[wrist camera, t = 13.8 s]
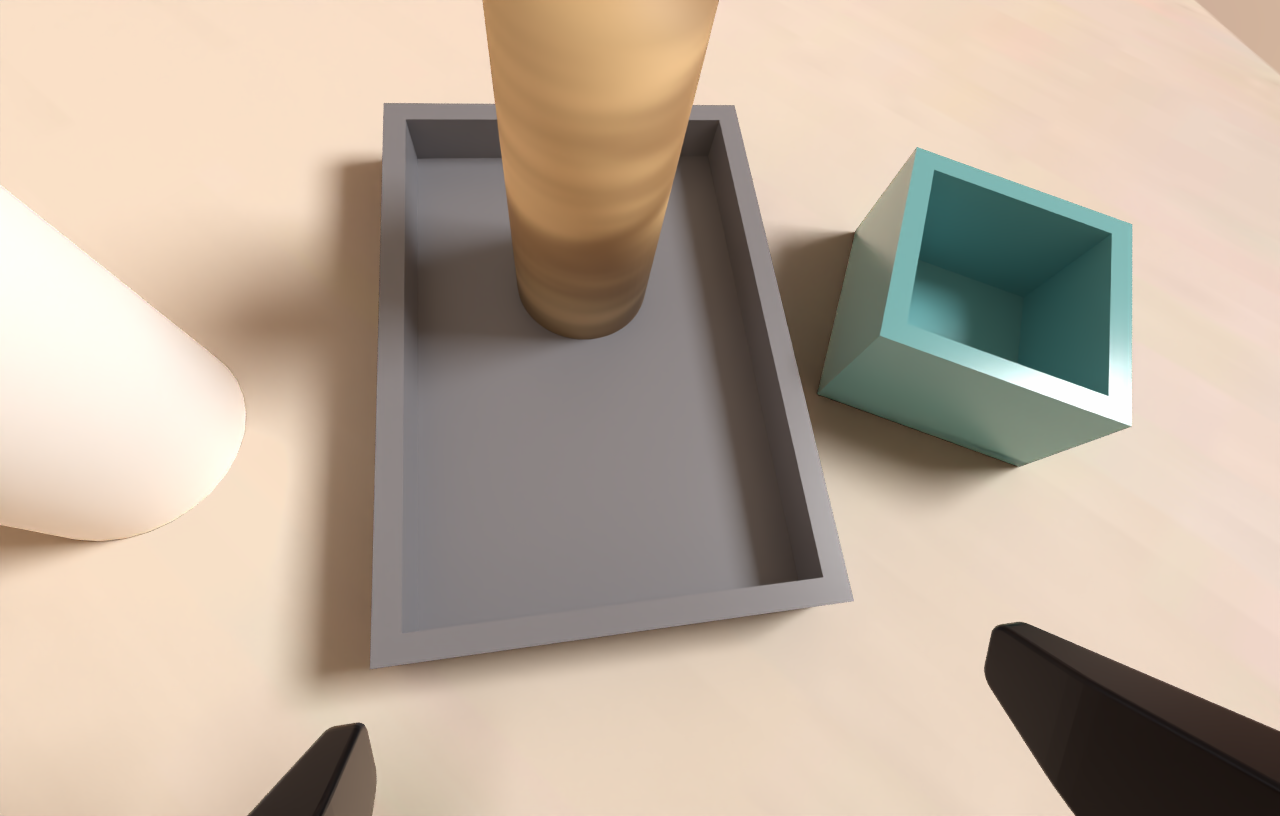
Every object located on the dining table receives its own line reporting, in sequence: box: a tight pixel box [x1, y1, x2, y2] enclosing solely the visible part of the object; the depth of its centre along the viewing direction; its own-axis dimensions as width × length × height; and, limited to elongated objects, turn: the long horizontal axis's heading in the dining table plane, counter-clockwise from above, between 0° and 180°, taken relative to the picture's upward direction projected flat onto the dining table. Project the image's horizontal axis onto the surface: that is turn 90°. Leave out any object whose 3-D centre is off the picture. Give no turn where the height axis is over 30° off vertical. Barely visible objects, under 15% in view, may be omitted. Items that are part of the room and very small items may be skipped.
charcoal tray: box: [370, 103, 854, 669], centre depth 22 cm, size 20×14×3 cm
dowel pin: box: [483, 0, 719, 339], centre depth 18 cm, size 5×5×12 cm
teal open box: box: [817, 147, 1132, 467], centre depth 23 cm, size 9×9×5 cm
